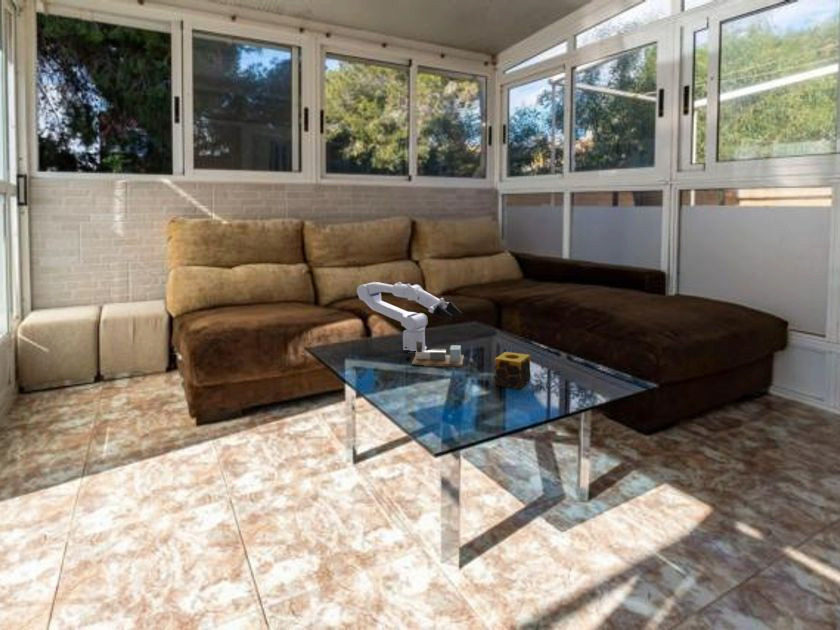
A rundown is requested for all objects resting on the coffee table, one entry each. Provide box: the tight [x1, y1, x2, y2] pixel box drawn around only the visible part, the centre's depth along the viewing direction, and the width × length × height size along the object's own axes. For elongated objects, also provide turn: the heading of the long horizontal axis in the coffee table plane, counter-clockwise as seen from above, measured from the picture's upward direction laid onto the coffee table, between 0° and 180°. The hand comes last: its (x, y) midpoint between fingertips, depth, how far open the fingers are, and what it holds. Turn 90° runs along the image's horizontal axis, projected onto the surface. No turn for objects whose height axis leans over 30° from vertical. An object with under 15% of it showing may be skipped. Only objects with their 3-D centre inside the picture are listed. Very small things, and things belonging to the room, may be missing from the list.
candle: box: [493, 351, 531, 390], centre depth 199 cm, size 10×10×10 cm
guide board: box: [411, 354, 465, 367], centre depth 227 cm, size 20×12×1 cm, turn 82°
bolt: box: [415, 341, 447, 359], centre depth 227 cm, size 12×3×7 cm, turn 82°
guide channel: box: [430, 348, 447, 361], centre depth 227 cm, size 6×5×4 cm
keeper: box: [449, 344, 462, 362], centre depth 226 cm, size 4×6×5 cm, turn 172°
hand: (456, 316), depth 229 cm, fingers open, 7 cm apart
